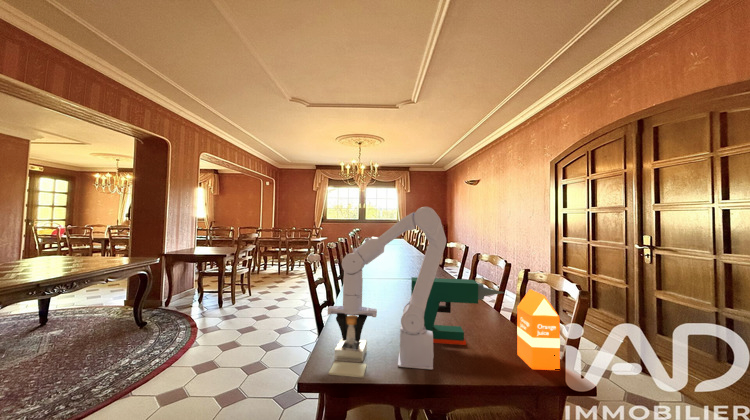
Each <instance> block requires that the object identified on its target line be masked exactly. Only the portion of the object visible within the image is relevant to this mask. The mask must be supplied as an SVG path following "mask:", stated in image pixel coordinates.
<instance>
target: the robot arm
mask: <svg viewBox="0 0 750 420" xmlns="http://www.w3.org/2000/svg"><path fill="white" fill-rule="evenodd" d="M417 227H418V228H419V230H421V231H422V232H423V234H424V236H425V237H426V240H427V241H428V245H427V247H426V251H425V254H424V258H423V260H422V263H421V266H420V270H419V273H418V275H417V277H418V278H417V281H416V284H415V287H414V290H413V293H412V296H411V295H410V299H409V301H408V302H407V303H406V304H405V306H404V308H403V310H402V311H403V313H402V315H401V318H400V325H401V326H400V327H399V328H400V329H399V330H400V331H399V333H400V334H399V339H400V340H399V341H400V342H399V352H398V360H397V367H400V368H406V369H407V368H409V369H411V368H412V369H421V370H434V358H435V357H434V356H435V354H434V343H433V332H432V331H429V330H426V328H425V327H424V312H425V308H426V304H427V300H428V297H429V294H430V291H431V288H432V285H433V282H434V279H435V278H436V275H437V272H438V270H439V266H440V263H441V260H442V257H443V254H444V251H445V248H446V245H447V237H446V234H445V230H444V227H443V223H442V220H441V218H440V216H439V214H437V212H436V211H435V210H434V209H433V208H432V207H430V206H422V207H419V208H417V210H416V211H413V212H411V213H409V214H407V215H405V216H404V217H402V218H401V219H400V220H399V221H397V222H396V223H395V224H393V225H392V226H391V227H390V228H389V229H387V230H386V231H385V232H383V234H381V235H380V236H371V237H366V238H365V239H364V241H365V242H364V243H362V244H360V245H359V246H358V247H357V248H356V247H354V248H353V249H352V252H350V253H347V254H346V255H345V256H344V257H343V258H342V260H341V268H342V270H343V280H342V281H343V283H342V305H338V306H337V305H333V306H331V305H330V306H328V307H327V315H336V317H335V321H336V322H337V325H338V327H339V330H340V332H341V337H342V339H343V341H345V337H346V317H347V316H350V315H355V316H358V318H357V342H359V341H360V340H361V336H362V331H363V328H364V325H365V322H366V321H367V318H368V317H372V318H377V317H378V316H377V315H378V314H377V313H378V309H377V308H373V307H366V306H363V282H364V281H363V279H364V278H363V268H364V267H365V266H366V265H369V264H370V263H371V262H373V261H374V260H375V259H377V258H378V257H379V256H381V255H382V254H383V253H384V252H385V247H386V245H389V243H391V242H392V241H393V240H395V239H396V238H398V237H400V236H401V235H402V234H404V233H405V232H407V231H413V230H416V229H417Z"/></svg>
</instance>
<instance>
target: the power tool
mask: <svg viewBox="0 0 750 420" xmlns="http://www.w3.org/2000/svg"><path fill="white" fill-rule="evenodd" d="M417 278H418V276H417V277H416V276H415V277H413V276H411V288H410V289H411V292H410V293H411V294H410V297H411V296H412V293H413V290H414V287H415V284H416V281H417ZM505 293H506V292H504V291H501V290H500V291H499V290H496V289H493V288H489V287H485V286H484V284H483V283H479V282H477V281H476V280H474V279H465V278H464V279H462V278H441V277H440V278H437V277H435V279H434V282H433V285H432V288H431V291H430V294H429V297H428V300H427V304H426V308H425V312H424V327H425V328H426V330H429V331H432V332H433V344H447V345H448V344H449V345H463V346H467V340H466V339H465V331H464V330H463V328H462V326H460V325H459V326H458V325H457V326H456V325H445V324H444V325H441V324H435V322H436V320H437V319H436V318H437V314H438V313H444V314H445V313H446V314H448V313H449V314H450V313H451V311H452V308H451V307H452V306H451V305H452V303H453V304H454V303H457V304H458V303H459V304H475V305H476V304H479V300H481V301H483V300H484V299H485V297H487V296H488V297H489V296H494V295H499V294H505ZM440 303H445V305H440Z"/></svg>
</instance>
